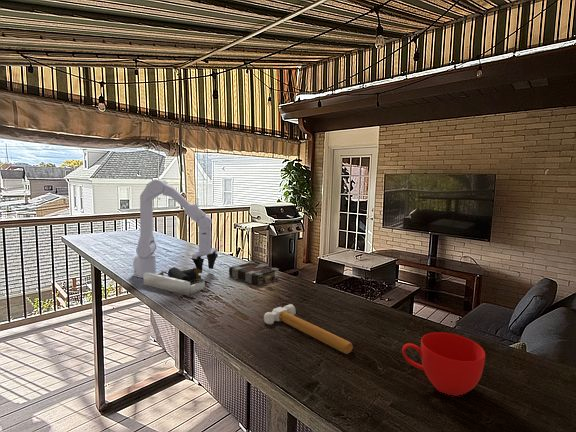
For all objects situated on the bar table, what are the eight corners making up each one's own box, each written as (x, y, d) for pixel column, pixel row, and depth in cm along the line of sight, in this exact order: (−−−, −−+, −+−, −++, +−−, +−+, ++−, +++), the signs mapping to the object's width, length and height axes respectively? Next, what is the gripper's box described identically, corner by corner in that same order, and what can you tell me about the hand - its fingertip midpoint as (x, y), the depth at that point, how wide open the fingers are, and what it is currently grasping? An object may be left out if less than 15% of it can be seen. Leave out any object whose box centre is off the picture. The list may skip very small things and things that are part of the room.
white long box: (143, 284, 141) (143, 272, 140) (162, 278, 149) (161, 267, 149) (187, 295, 129) (187, 283, 128) (204, 288, 137) (204, 276, 137)
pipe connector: (192, 263, 155) (205, 271, 143) (193, 274, 156) (206, 283, 144) (167, 268, 148) (179, 276, 136) (168, 279, 149) (179, 289, 137)
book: (252, 270, 165) (252, 260, 164) (290, 282, 148) (290, 271, 148) (228, 277, 154) (228, 266, 153) (267, 290, 137) (267, 278, 137)
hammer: (361, 348, 94) (288, 313, 116) (362, 335, 94) (288, 302, 115) (334, 364, 86) (261, 323, 108) (335, 350, 86) (261, 311, 107)
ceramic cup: (399, 363, 86) (402, 326, 84) (473, 376, 81) (477, 336, 79) (401, 395, 73) (404, 352, 72) (488, 412, 68) (493, 366, 67)
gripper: (200, 245, 145) (200, 276, 147) (222, 240, 158) (222, 268, 160) (188, 243, 149) (189, 273, 150) (210, 238, 161) (210, 265, 163)
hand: (205, 270), depth 155 cm, fingers open, 7 cm apart
